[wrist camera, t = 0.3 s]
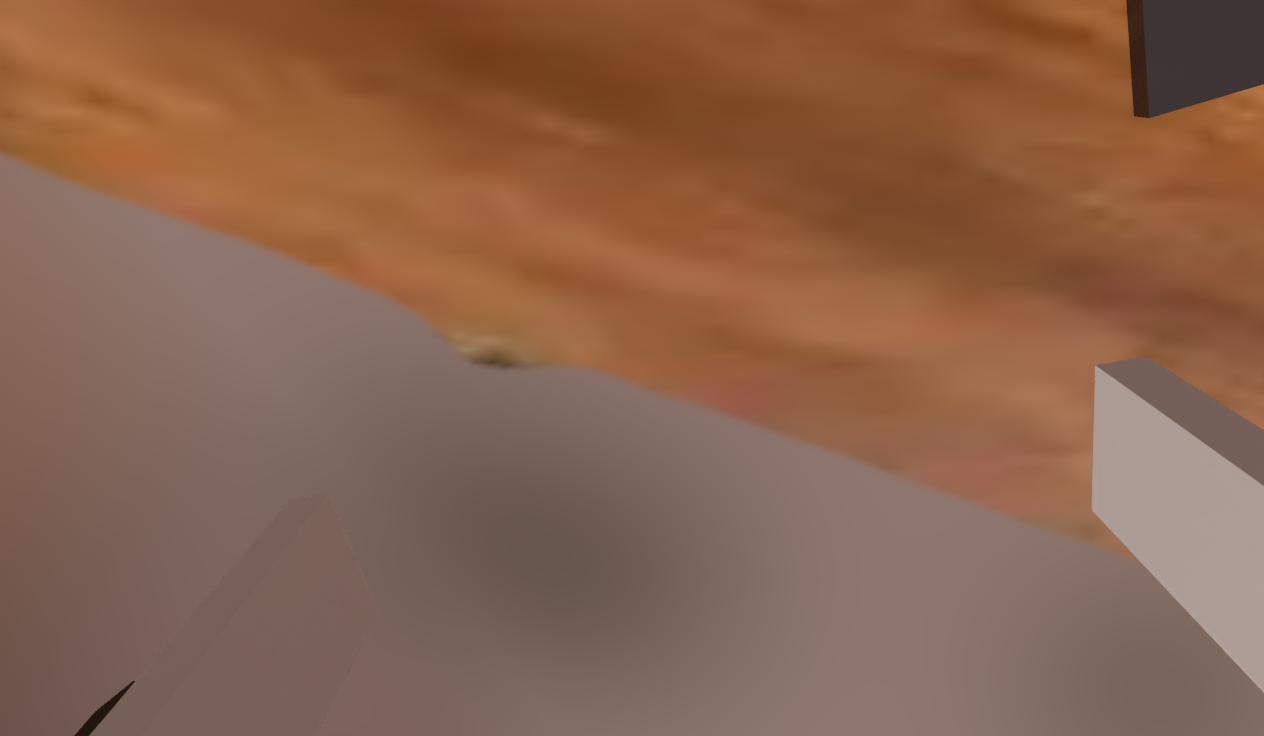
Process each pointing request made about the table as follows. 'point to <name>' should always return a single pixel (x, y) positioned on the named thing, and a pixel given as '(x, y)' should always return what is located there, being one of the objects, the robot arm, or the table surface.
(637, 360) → the table surface
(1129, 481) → the robot arm
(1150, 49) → the keeper
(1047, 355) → the table surface
